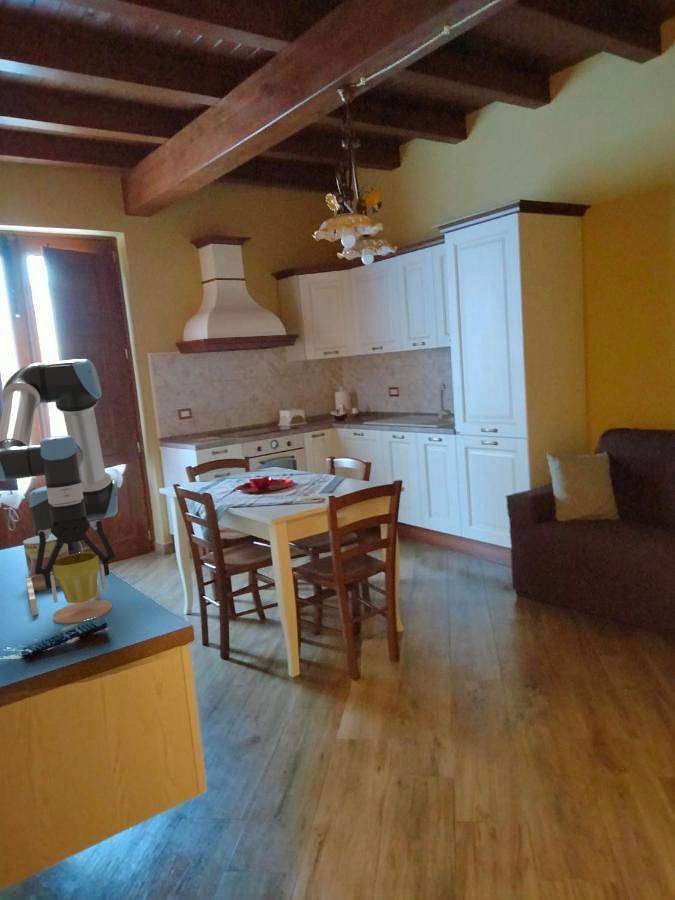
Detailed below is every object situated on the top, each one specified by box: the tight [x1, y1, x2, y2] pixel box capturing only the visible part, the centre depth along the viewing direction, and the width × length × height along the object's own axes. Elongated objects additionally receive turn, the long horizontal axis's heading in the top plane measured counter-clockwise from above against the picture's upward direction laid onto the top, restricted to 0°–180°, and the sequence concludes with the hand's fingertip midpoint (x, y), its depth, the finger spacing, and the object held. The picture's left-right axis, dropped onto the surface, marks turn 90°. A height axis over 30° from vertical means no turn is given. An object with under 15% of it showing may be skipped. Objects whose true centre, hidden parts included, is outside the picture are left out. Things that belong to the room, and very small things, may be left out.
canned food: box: [22, 534, 69, 577], centre depth 186 cm, size 11×11×12 cm
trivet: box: [52, 599, 113, 625], centre depth 155 cm, size 13×13×1 cm
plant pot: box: [52, 551, 101, 604], centre depth 154 cm, size 10×10×10 cm
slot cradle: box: [25, 574, 102, 617], centre depth 170 cm, size 22×16×4 cm
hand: (80, 595), depth 155 cm, fingers closed on plant pot, 10 cm apart
